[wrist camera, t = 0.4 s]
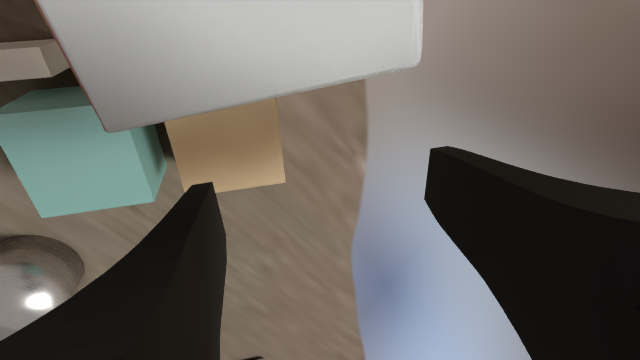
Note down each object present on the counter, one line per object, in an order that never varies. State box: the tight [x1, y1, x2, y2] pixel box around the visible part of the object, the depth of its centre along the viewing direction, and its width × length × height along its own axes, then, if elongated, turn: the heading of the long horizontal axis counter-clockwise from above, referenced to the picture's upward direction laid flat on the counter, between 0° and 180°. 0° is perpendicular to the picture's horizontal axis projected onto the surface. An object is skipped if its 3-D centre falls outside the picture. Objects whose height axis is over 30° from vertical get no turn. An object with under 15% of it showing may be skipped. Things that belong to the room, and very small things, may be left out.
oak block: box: [164, 98, 285, 193], centre depth 18 cm, size 5×5×4 cm
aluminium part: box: [0, 235, 85, 341], centre depth 20 cm, size 5×5×4 cm
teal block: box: [0, 86, 167, 218], centre depth 17 cm, size 5×5×4 cm
